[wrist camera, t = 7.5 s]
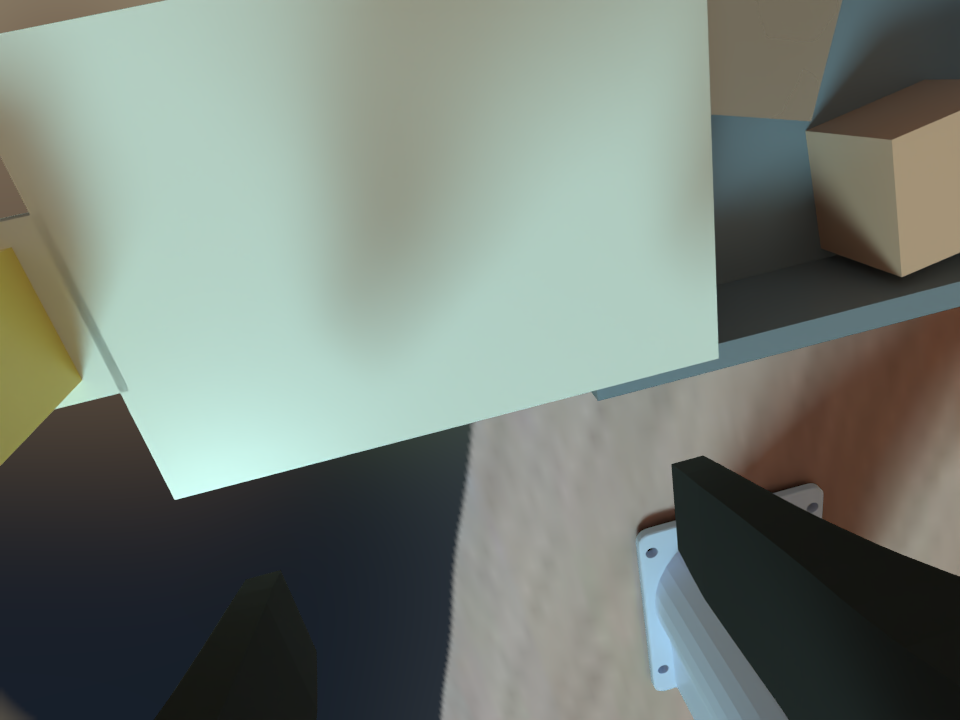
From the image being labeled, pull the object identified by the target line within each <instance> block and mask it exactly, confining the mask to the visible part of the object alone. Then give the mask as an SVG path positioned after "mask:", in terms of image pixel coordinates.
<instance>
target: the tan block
mask: <svg viewBox="0 0 960 720" xmlns="http://www.w3.org/2000/svg"><path fill="white" fill-rule="evenodd" d="M805 133H806V140H807V148H808V155H809V163H810V170H811V178H812V185H813V193H814V200H815V208H816V215H817V223H818V230H819V238H820V245H821V249H824V250H827V251H830V252H832V253H835V254H838V255H841V256H844V257H846V258H849V259H852V260H855V261H858V262H860V263H863V264H866V265H869V266H872V267H874V268H877V269H880V270H883V271H886V272H888V273H891V274H894V275H897V276H900V277H904V276H906V275H908V274H911V273H913V272H915V271H918V270H920V269H922V268H925V267H927V266H929V265H932V264H934V263H936V262H939V261H941V260H943V259H946V258H948V257H950V256H953V255H955V254H957V253H960V79H940V80H923V81H920V82H918V83H916V84H913V85H911V86H909V87H906V88H904V89H902V90H899V91H897V92H895V93H892V94H890V95H888V96H885V97H883V98H881V99H878V100H876V101H874V102H871V103H869V104H867V105H864V106H862V107H860V108H858V109H855V110H853V111H851V112H848V113H846V114H844V115H841V116H839V117H837V118H834V119H832V120H830V121H827V122H825V123H823V124H820V125H818V126H816V127H813V128H811V129H809V130H806V131H805Z"/></svg>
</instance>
